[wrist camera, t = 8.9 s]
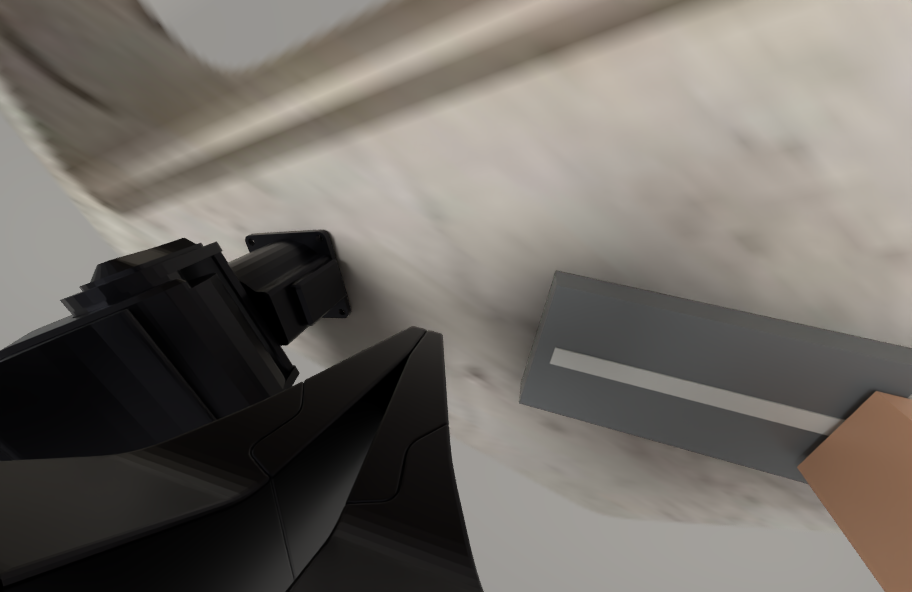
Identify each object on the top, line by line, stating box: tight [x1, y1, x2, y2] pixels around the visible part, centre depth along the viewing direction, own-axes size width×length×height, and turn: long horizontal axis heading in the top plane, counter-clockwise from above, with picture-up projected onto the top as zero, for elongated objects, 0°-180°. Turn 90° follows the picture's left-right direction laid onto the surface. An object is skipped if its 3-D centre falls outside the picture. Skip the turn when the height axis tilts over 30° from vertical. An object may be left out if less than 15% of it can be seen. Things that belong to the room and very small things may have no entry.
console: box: [519, 271, 912, 484], centre depth 19 cm, size 22×9×2 cm, turn 82°
